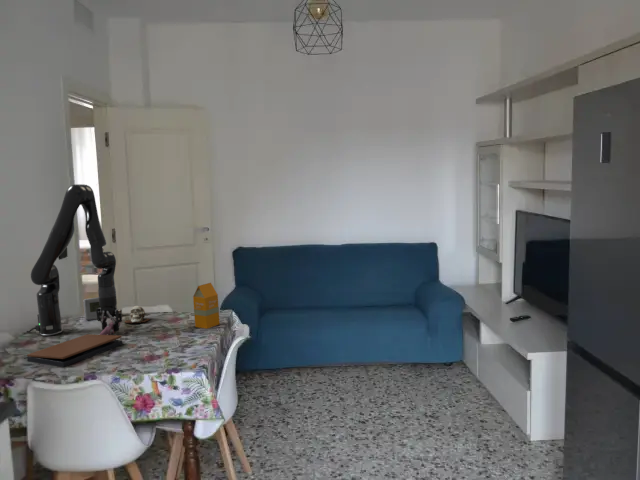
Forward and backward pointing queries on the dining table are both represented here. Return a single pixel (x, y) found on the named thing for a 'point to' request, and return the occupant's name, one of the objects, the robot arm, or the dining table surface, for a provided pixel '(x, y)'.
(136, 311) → the skull
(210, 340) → the dining table surface
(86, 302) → the digital clock
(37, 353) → the tablet cover
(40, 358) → the black flat slab
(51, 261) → the robot arm
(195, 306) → the orange juice
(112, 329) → the video game controller
